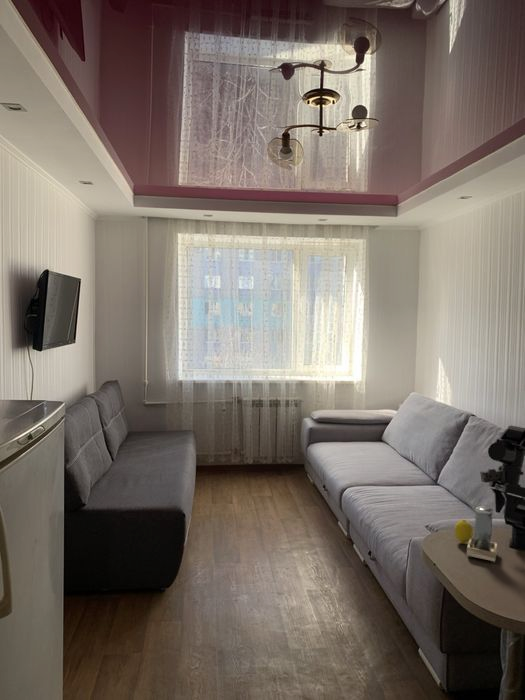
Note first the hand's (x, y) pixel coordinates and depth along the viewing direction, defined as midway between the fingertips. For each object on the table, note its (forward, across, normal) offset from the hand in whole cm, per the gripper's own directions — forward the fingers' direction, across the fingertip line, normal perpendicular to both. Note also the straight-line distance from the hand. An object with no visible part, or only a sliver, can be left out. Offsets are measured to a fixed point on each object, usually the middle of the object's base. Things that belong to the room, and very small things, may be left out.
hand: (501, 514), depth 164 cm
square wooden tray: (+14, 0, -3) cm, 14 cm away
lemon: (+13, -8, -7) cm, 17 cm away
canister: (+12, 0, -4) cm, 13 cm away
